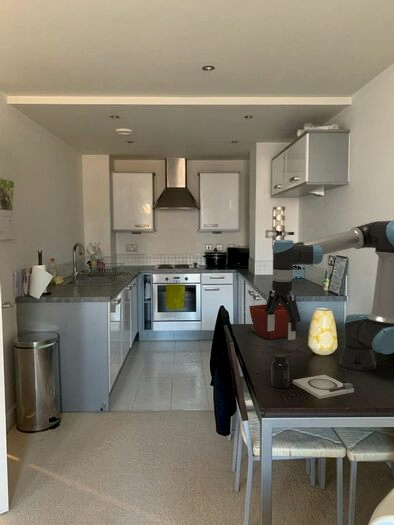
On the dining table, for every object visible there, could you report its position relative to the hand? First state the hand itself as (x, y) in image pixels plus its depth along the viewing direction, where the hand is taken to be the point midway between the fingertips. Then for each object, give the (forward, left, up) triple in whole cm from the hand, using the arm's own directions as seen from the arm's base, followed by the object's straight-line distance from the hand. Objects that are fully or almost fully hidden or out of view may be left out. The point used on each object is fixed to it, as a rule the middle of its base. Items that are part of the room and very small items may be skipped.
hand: (280, 335), depth 152 cm
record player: (-14, +8, -20) cm, 26 cm away
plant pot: (-38, -63, -20) cm, 76 cm away
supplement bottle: (0, 0, -20) cm, 20 cm away
